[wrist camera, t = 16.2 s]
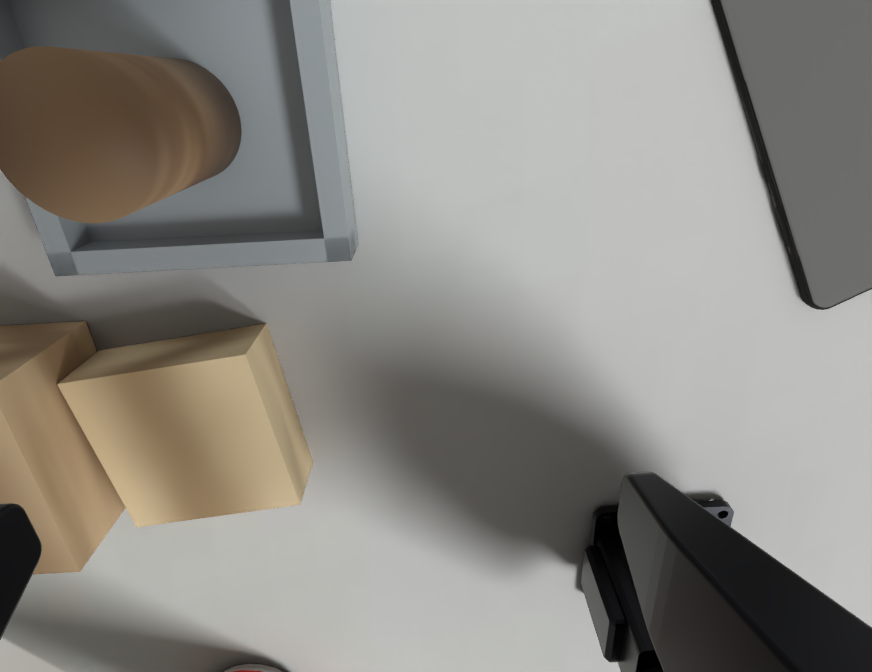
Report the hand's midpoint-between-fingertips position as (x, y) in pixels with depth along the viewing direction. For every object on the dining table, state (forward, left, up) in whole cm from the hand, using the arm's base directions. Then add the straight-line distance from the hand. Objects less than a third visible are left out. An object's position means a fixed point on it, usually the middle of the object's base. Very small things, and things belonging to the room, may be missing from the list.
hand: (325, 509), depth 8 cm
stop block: (+14, +6, -13) cm, 20 cm away
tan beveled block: (+8, +6, -13) cm, 17 cm away
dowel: (+6, -5, -12) cm, 14 cm away
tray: (+6, -5, -13) cm, 15 cm away
